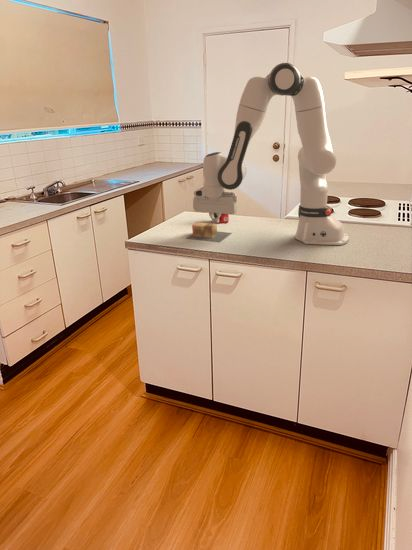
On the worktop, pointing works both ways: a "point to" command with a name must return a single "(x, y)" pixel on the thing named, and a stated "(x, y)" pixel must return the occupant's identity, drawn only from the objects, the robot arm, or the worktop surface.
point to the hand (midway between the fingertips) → (215, 222)
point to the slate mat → (217, 238)
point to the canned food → (222, 218)
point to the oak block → (204, 230)
